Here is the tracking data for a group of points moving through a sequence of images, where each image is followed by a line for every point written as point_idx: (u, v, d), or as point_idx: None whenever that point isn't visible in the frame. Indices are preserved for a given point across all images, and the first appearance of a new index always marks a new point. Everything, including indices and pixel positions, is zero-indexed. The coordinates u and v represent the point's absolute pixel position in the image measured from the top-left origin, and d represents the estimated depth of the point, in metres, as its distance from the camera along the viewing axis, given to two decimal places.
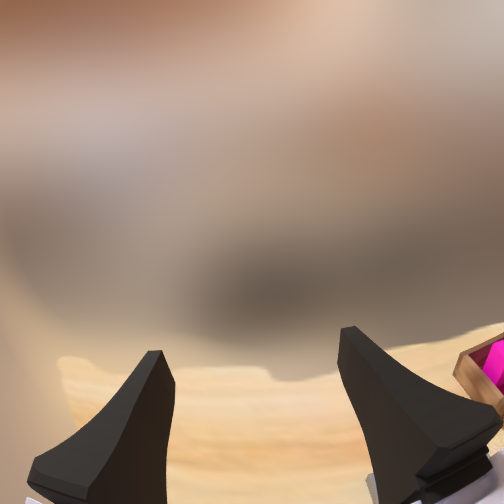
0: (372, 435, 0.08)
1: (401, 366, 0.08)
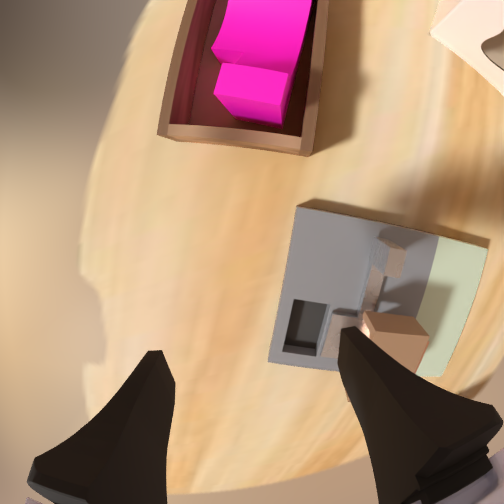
0: (372, 435, 0.08)
1: (401, 366, 0.08)
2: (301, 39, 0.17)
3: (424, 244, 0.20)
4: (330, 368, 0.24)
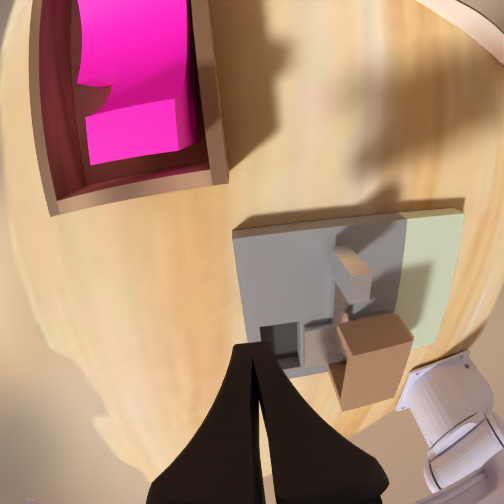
0: None
1: (292, 391, 0.08)
2: (185, 23, 0.12)
3: (391, 232, 0.19)
4: (318, 371, 0.23)
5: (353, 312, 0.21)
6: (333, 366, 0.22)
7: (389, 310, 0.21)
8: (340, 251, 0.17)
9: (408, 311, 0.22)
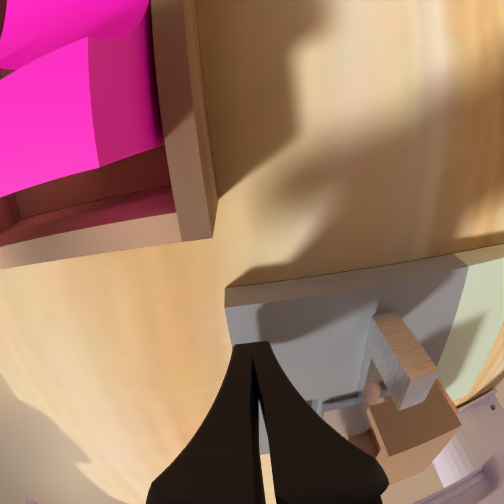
0: None
1: (293, 391, 0.08)
2: None
3: (448, 286, 0.12)
4: None
5: None
6: (354, 437, 0.16)
7: None
8: (387, 326, 0.11)
9: (448, 370, 0.15)
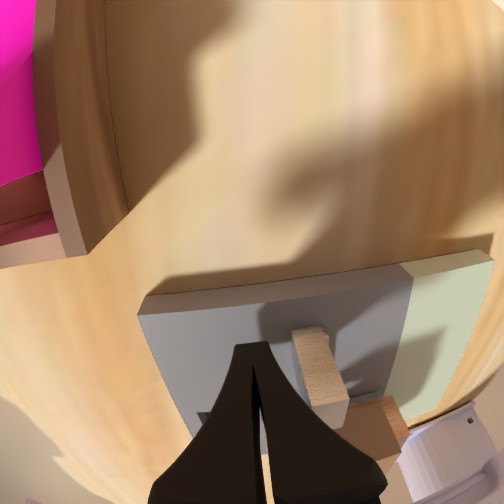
0: None
1: (291, 391, 0.08)
2: None
3: (387, 300, 0.12)
4: None
5: None
6: None
7: (377, 389, 0.15)
8: (305, 343, 0.10)
9: (404, 387, 0.15)
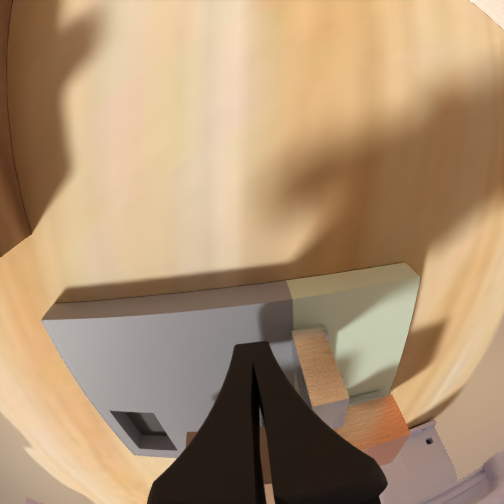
0: None
1: (291, 391, 0.08)
2: None
3: (262, 321, 0.12)
4: None
5: None
6: None
7: None
8: (305, 342, 0.10)
9: None
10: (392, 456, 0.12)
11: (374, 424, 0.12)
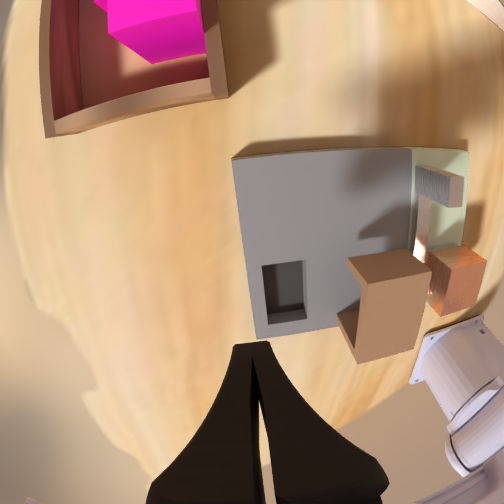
0: None
1: (293, 391, 0.08)
2: None
3: (396, 162, 0.17)
4: (327, 326, 0.22)
5: (363, 251, 0.20)
6: (343, 317, 0.21)
7: None
8: (427, 167, 0.16)
9: None
10: (476, 293, 0.18)
11: (462, 256, 0.18)
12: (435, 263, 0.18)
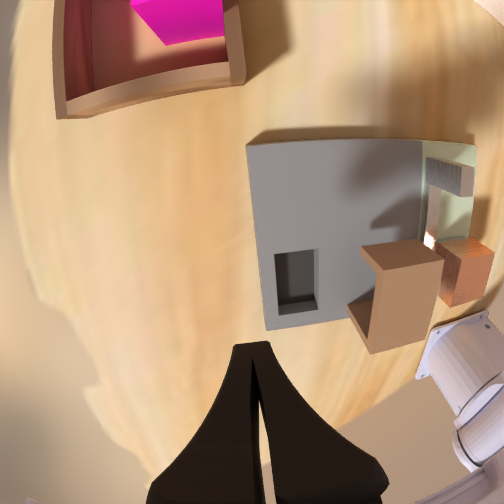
0: None
1: (293, 391, 0.08)
2: None
3: (408, 153, 0.17)
4: (337, 317, 0.22)
5: (374, 241, 0.19)
6: (354, 308, 0.21)
7: None
8: (437, 158, 0.15)
9: None
10: (484, 285, 0.17)
11: (471, 248, 0.17)
12: (444, 254, 0.18)
